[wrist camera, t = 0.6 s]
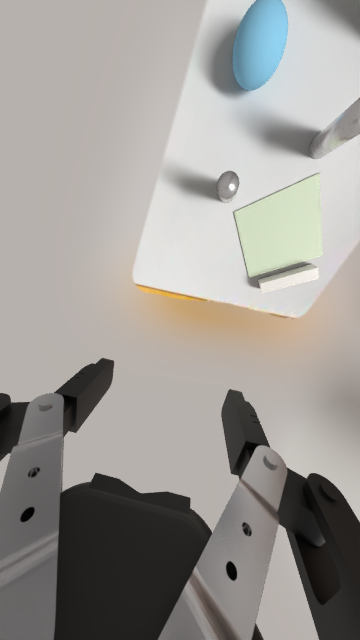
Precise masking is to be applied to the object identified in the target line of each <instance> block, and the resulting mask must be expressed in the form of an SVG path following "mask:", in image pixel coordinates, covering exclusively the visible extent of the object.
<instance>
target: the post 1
mask: <svg viewBox="0 0 360 640" xmlns="http://www.w3.org/2000/svg"><path fill="white" fill-rule="evenodd" d="M238 187H239V178H238V176H237V174H236V173H235V172H233V171H227V172H225V173H223V174H222V175H221V176H220V178H219V179H218V182H217V191H218V194H219V197H220V199H221V200H222V201H223V202H224V203H228V202H231V201H232V200H233V199H234V197H235V195H236V192H237V190H238Z"/></svg>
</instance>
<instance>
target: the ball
mask: <svg viewBox="0 0 360 640" xmlns="http://www.w3.org/2000/svg"><path fill="white" fill-rule="evenodd" d="M287 32H288V18H287V12H286V8H285V6H284V4H283V2H282V1H281V0H256V1H255V2H254V3H253V4H252V5H251V7H250V8H249V9H248V11H247V12H246V14H245V15H244V17H243V19H242V21H241V23H240V26H239V28H238V31H237V34H236V38H235V42H234V47H233V57H232V61H233V71H234V75H235V78H236V81H237V82H238V84H239V85H240V86H241V87H242V88H243V89H245V90H255V89H258V88H259V87H261V86H262V85H264V84H265V83H266V82H267V81H268V80H269V79H270V77H271V76H272V75H273V73H274V72H275V70H276V68H277V66H278V64H279V62H280V60H281V58H282V55H283V52H284V49H285V45H286V40H287Z"/></svg>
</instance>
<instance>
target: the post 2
mask: <svg viewBox="0 0 360 640" xmlns="http://www.w3.org/2000/svg"><path fill="white" fill-rule="evenodd" d="M358 134H360V98H359V99H358V100H357V101H356V102H354V103H353V104H352V105H351V106H350V107H349V108H348V109H347V110H345V111H344V112H343V113H342V114H341V115H340V116H339V117H338V118H336V119H335V120H334V121H333V122H332V123H331V124H330V125H329V126H327V127H326V128H325V129H324V130H323V131H322V132H321V133H320V134H318V135H317V136H316V137H315V138H314V139H313V141H312V143H311V145H310V148H309V154H310V156H311V157H312V158H314V159H318V158H321V157H323V156H324V155H326V154H328V153H329V152H331V151H332V150H334V149H336V148H337V147H339V146H341V145H342V144H344V143H345V142H347V141H349V140H350V139H352V138H354V137H355V136H357V135H358Z"/></svg>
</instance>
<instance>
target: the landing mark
mask: <svg viewBox="0 0 360 640" xmlns="http://www.w3.org/2000/svg"><path fill="white" fill-rule="evenodd" d="M234 214H235V219H236V223H237V227H238V232H239V236H240V240H241V245H242V249H243V254H244V258H245V262H246V267H247V271H248V275H249V278H250V277H253V276H256V275H260V274H263V273H266V272H270V271H273V270H276V269H280V268H283V267H286V266H289V265H293V264H296V263H299V262H303V261H306V260H309V259H313V258H316V257H319V256H323V255H322V228H321V201H320V174H319V173H318V174H316V175H314V176H312V177H310V178H307V179H305V180H303V181H301V182H299V183H296V184H294V185H292V186H290V187H288V188H286V189H283V190H281V191H279V192H277V193H275V194H273V195H270V196H268V197H266V198H264V199H262V200H259V201H257V202H255V203H253V204H251V205H249V206H246V207H244V208H242V209H240V210H238V211H236V212H234Z"/></svg>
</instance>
